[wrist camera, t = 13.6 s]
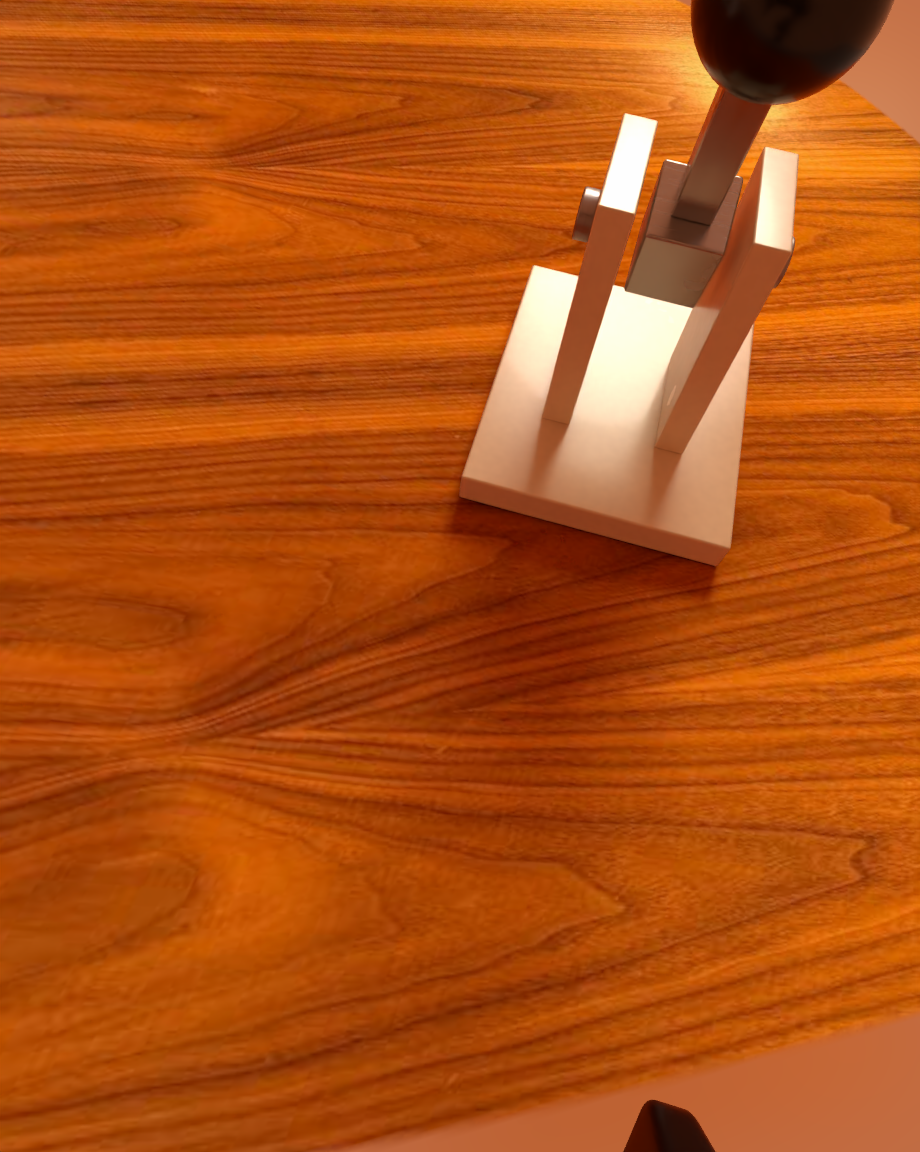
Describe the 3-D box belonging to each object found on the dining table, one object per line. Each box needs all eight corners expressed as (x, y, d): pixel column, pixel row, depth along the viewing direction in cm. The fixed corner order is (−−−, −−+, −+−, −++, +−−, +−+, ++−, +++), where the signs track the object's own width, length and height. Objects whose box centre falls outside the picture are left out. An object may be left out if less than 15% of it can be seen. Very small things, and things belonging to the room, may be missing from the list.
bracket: (717, 567, 25) (873, 366, 17) (458, 497, 26) (489, 269, 17) (742, 342, 30) (871, 106, 22) (528, 288, 31) (576, 38, 23)
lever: (928, 3, 12) (966, -176, 12) (705, -46, 12) (752, -221, 13) (712, 333, 22) (738, 228, 23) (595, 304, 23) (623, 200, 23)
